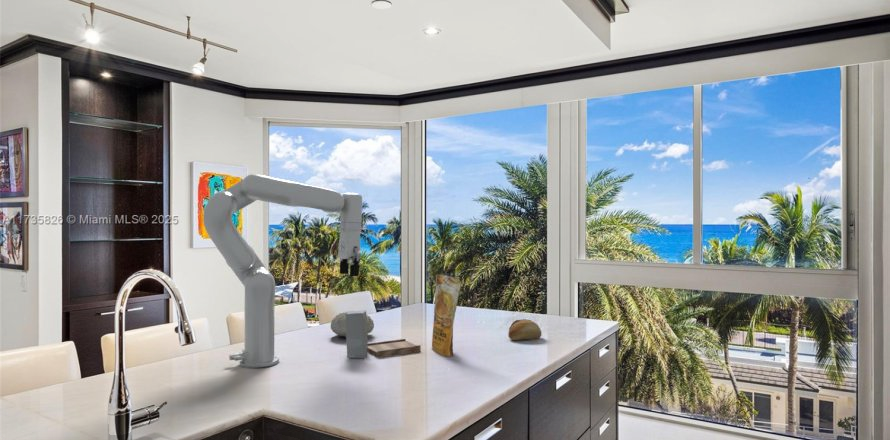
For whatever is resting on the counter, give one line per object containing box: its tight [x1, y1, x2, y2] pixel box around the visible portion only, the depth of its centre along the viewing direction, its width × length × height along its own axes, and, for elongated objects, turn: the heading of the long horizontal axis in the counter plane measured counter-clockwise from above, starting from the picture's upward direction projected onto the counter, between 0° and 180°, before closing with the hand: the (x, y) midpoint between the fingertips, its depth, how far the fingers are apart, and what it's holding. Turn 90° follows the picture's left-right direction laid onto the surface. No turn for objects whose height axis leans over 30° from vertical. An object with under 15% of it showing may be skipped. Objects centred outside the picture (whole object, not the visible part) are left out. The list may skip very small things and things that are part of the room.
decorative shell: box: [330, 311, 375, 338], centre depth 218 cm, size 18×18×10 cm
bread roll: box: [507, 318, 542, 341], centre depth 214 cm, size 10×15×8 cm, turn 116°
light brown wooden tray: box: [367, 338, 422, 358], centre depth 194 cm, size 17×13×2 cm
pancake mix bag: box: [431, 273, 462, 358], centre depth 193 cm, size 7×19×28 cm, turn 22°
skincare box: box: [345, 310, 369, 359], centre depth 187 cm, size 8×7×16 cm
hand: (349, 274), depth 188 cm, fingers open, 9 cm apart
